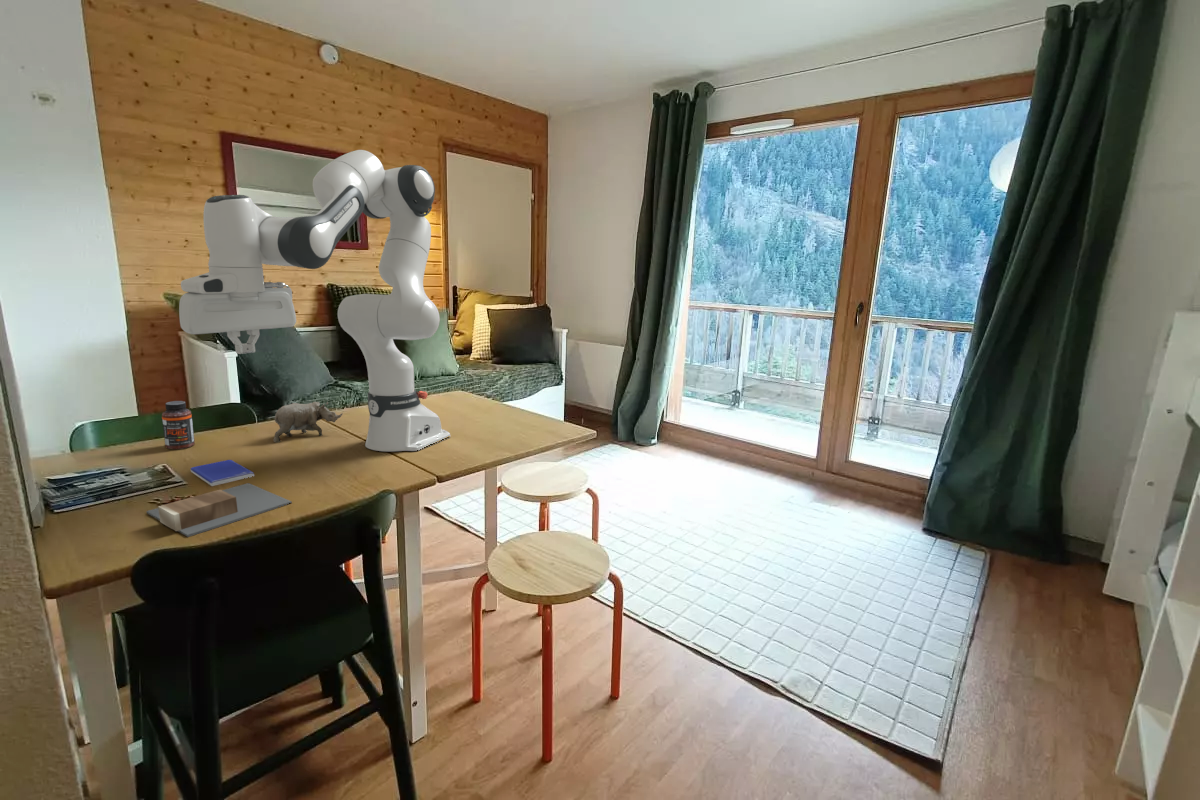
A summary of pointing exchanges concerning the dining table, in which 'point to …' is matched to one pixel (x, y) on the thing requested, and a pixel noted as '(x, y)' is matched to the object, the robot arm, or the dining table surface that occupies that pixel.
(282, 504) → the mat
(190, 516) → the block
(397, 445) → the robot arm
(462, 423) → the dining table surface
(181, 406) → the supplement bottle
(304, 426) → the rhinoceros figurine
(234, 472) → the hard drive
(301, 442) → the dining table surface
